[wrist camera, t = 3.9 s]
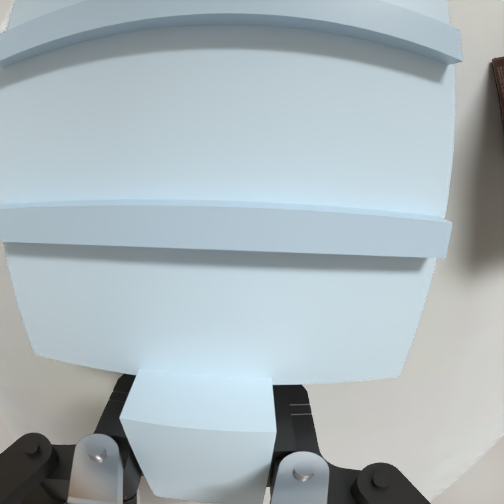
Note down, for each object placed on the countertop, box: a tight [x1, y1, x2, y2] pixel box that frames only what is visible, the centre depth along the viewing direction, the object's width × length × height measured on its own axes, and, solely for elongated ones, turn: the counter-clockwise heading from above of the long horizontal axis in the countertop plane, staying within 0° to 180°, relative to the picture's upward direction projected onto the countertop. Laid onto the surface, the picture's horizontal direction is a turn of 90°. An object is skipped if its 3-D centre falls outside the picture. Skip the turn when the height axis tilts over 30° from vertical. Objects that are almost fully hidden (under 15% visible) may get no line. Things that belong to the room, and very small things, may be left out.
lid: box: [0, 0, 463, 504], centre depth 6 cm, size 17×11×3 cm, turn 177°
